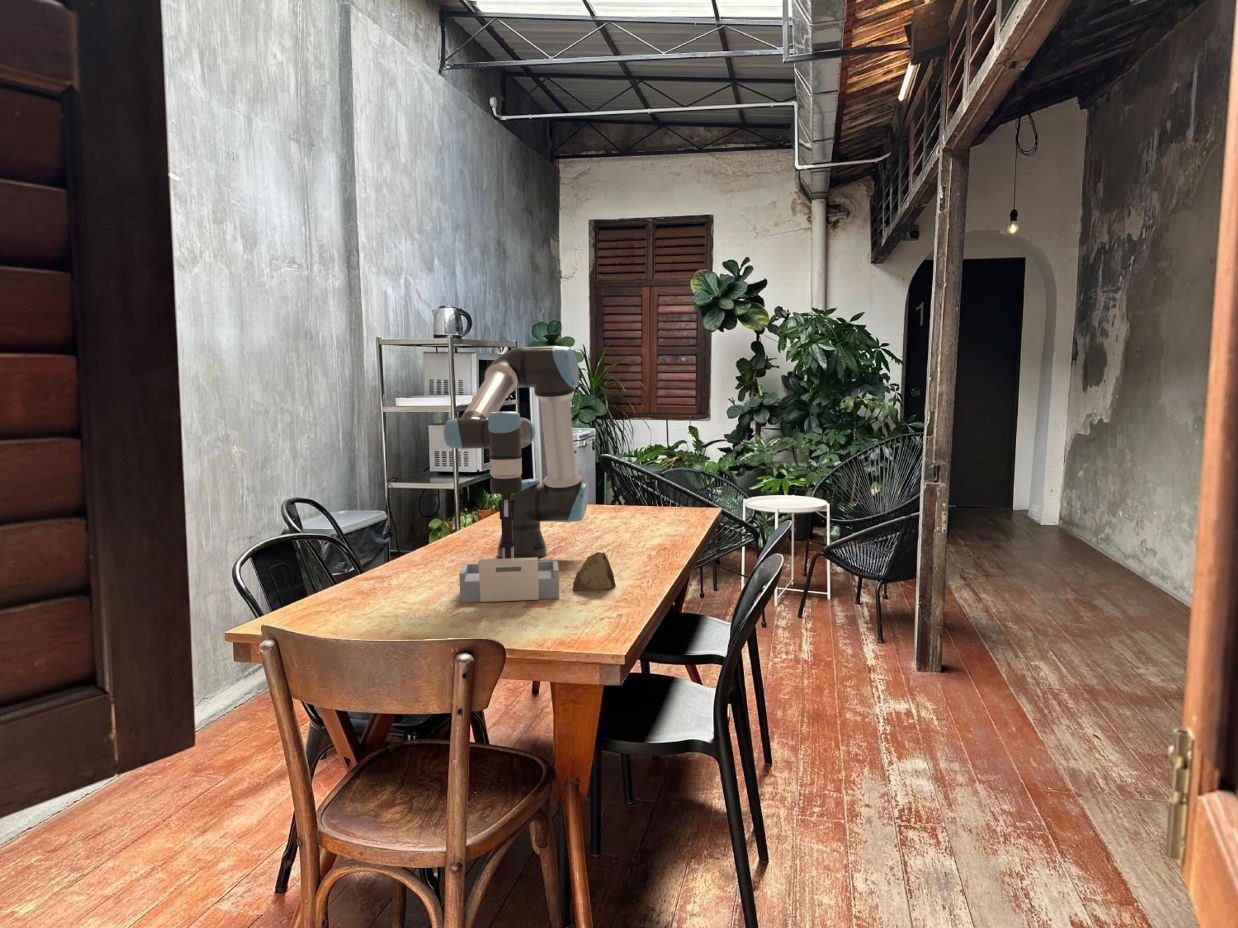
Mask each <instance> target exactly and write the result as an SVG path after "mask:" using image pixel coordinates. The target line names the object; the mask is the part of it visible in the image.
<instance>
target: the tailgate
mask: <svg viewBox="0 0 1238 928" xmlns="http://www.w3.org/2000/svg"><path fill="white" fill-rule="evenodd" d="M538 558H539V557H535V558H507V559H502V558H488V559H487V558H486V559H485V558H483V559H478V562H477V563H478V566H479V583H480V600H481V601H480V603H482V602H483V603H487V602H512V601H515V602H516V601H534V600H535V601H536V600H540V599H539V587H538V561H539V559H538Z"/></svg>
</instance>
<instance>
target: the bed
mask: <svg viewBox="0 0 1238 928" xmlns="http://www.w3.org/2000/svg"><path fill="white" fill-rule="evenodd" d="M559 573H560V571H559V562H558V560H557V559H556V560H555V559H554V560H538V587H539V600H549V599H553V600H554V599H560V576H559V575H560V574H559ZM458 575H459V576H458V577H459V600H460V601H459V603H475V602H476V603H477V602H478V603H479V602H481V600H480V583H479V566H478V562H473V563H472V562H471V563H463V564H462V567H461V569H460V572H459V574H458Z"/></svg>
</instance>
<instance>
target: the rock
mask: <svg viewBox="0 0 1238 928" xmlns="http://www.w3.org/2000/svg"><path fill="white" fill-rule="evenodd" d="M616 586H617V585H616V580H615V575H614V572H613V570H612V566H611V564H610V560H609V559H608V557H607V555H606V553H605V552H601V551H600V552H599V551H597V552H595V553H593V554H591V555H590V556H588V557H587V558H586V560H585V561H584V563H583V564H582V566H581V567H580V569H579V570H578V571H577V572H576V574H575V578H574V580H573V585H572V590H573V591H574V590H575V591H597V590H610V589H614V588H615V587H616Z"/></svg>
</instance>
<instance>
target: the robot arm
mask: <svg viewBox="0 0 1238 928" xmlns="http://www.w3.org/2000/svg"><path fill="white" fill-rule="evenodd" d="M579 384H580V369H579V363H578V360H577V355H576V354H575V352H574V350H573V349H572V348H571V347H569V346H558V345H548V346H547V345H545V346H527V347H526V346H520V347H515V348H512V349H510V350H508V351H506V352H505V353H502V354H501V355H500V356H498V357H497V358H496V359H495V360H493V361H492V362H491V363H490V364H489V366H488V367H487V369H486V370H485V373H484V381H483V382H482V384H480V387H479V388H478V390H477V391H476V393H475V395H474V396H473V398H472V399H471V401H470V403H469V404H468V405H467V407H466V409H465V411H464V412H463V414H462V415H461V416H460V418H457V417H455V418H451V419H447V420H446V422H445V424H444V425H443V439H444V443H445V445H446V446H447V447H448V448H449V449H460V450H464V449H465V450H466V449H467V450H468V449H471V450H472V449H489V462H487V465H486V466H487V467H488V468H490V469H489V473H490V475H491V476H492V477H491V478H490V479H489V480H490V481H489V482H490V483H489V484H490V492H491V494H495V495H500V499H498V502H497V506H498V510H499V519H500V522H501V535H500V539H499V542H498V546H497V551H496V552H497V557H498V558H500V559H507V558H535V557H538V558H542V557H544V556H546V555H547V551H548V550H547V549H548V548H547V545H546V542H545V538H544V536H543V532H542V530H541V522H543V523H544V522H545V523H546V522H547V523H550V522H551V523H552V522H555V523H572V522H573V523H574V522H575V523H576V522H577V523H578V522H581V521H582V520H584V518H585V516H586V512H587V507H588V501H589V485H588V484H587V483H585V482H583V483H582V476H581V475H580V474H578V473H577V469H576V460H575V459H576V458H575V447H574V446H575V444H574V434H573V423H572V409H571V399H570V397H571V396H572V395H573V394H574V393H575V387H578V386H579ZM520 388H533V390H534V396H535V397H537V398H538V399H539V400H540V401H539V402H540V409H541V410H540V411H541V412H540V413H541V421H542V432H543V441H544V451H545V463H546V472H547V475H546V476H545V477H544V479H543V481H542V483H540V480H539V478H528V479H523V478H522V476H521V475H522V474H523V465H522V463H523V462H522V460H523V458H522V449H524V448H526V447H527V446H529V445H531V444H532V443H533V442H534V439H535V437H536V427H535V425H534V423H533V422H532V421H531V420H530V419H528V418H525V417H521V414H520V413H519V412H518V411H511V410H510V411H500V410H501V408H502V406H503V404H504V403H505V400H506V399H507V397H508V395H509V394H511V393H514V391H515V390H516V389H520Z"/></svg>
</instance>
